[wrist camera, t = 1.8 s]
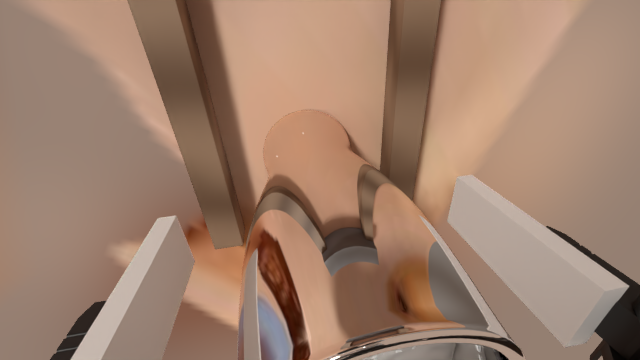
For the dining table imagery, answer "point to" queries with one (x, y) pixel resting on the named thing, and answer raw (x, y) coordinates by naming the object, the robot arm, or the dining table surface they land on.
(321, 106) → the dining table surface
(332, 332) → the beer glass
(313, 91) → the dining table surface
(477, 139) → the dining table surface
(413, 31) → the guide track
